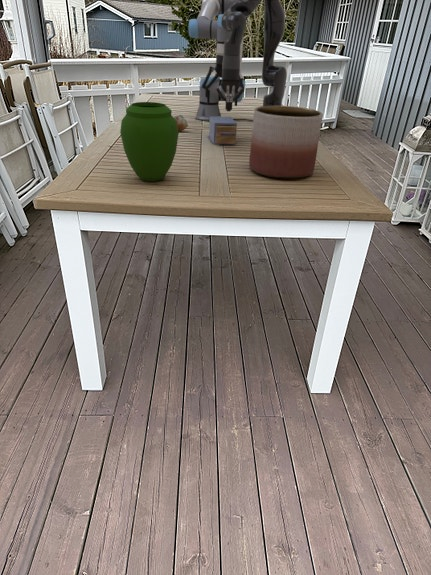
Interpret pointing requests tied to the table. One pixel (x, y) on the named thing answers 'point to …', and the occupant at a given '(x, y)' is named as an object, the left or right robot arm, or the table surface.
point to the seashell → (181, 122)
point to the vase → (149, 139)
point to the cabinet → (218, 121)
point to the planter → (284, 141)
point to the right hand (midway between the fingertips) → (228, 111)
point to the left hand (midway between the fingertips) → (222, 105)
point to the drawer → (226, 134)
